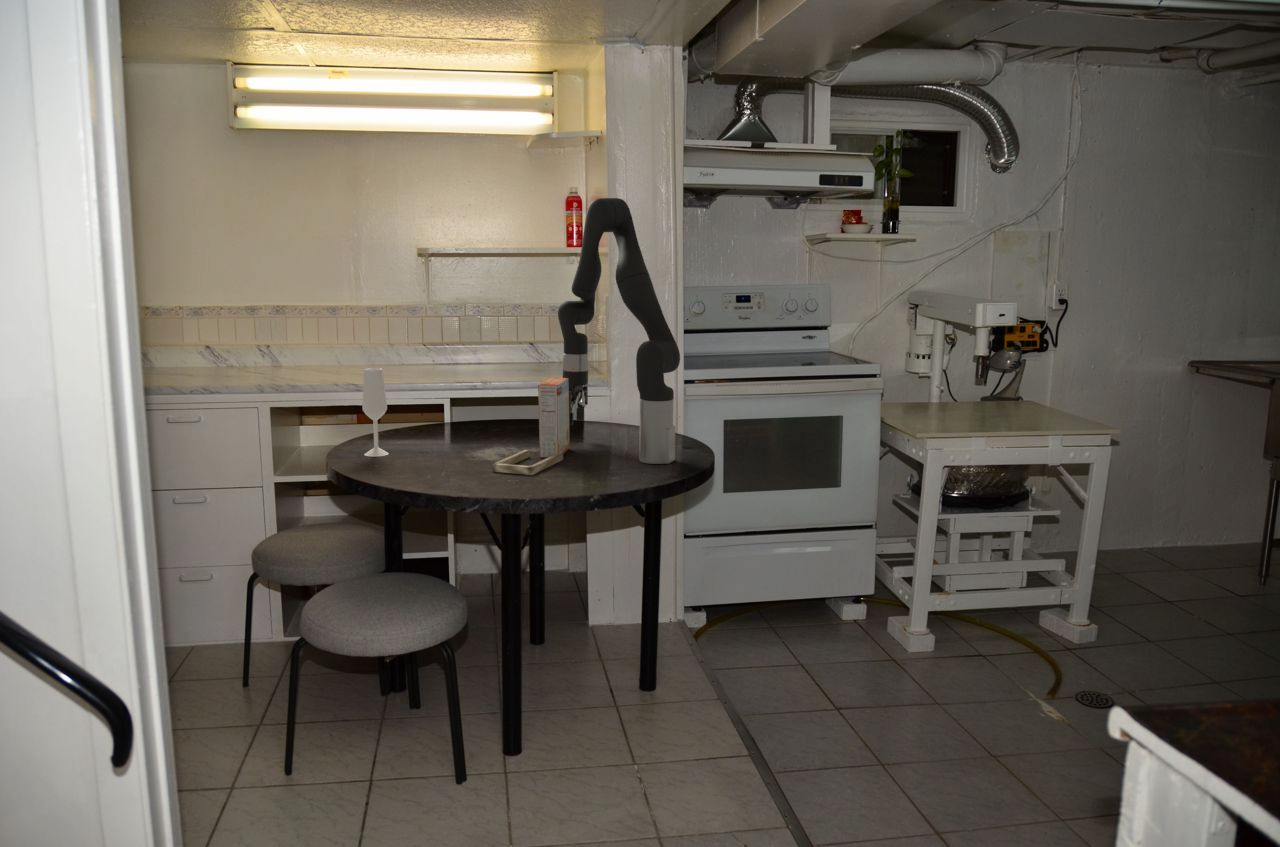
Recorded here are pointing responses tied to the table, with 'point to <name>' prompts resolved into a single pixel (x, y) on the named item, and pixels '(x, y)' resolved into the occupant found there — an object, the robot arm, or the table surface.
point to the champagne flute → (374, 404)
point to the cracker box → (553, 416)
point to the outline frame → (508, 466)
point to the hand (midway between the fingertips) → (574, 422)
